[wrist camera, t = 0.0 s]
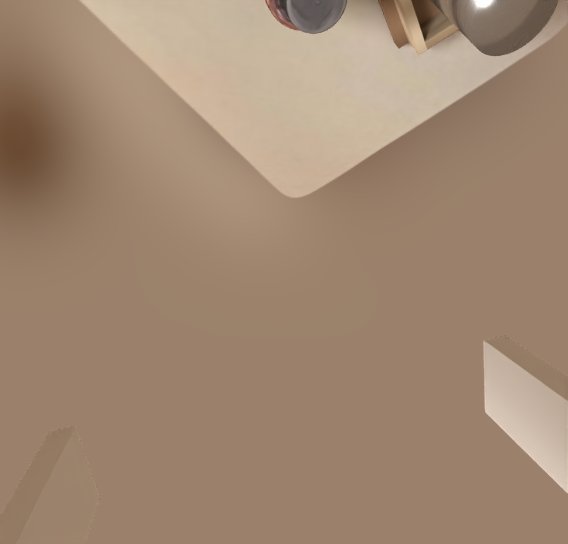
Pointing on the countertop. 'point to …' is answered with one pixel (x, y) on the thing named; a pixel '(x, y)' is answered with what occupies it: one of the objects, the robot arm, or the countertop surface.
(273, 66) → the countertop surface
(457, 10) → the billet
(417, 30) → the wooden divided tray
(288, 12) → the supplement bottle
